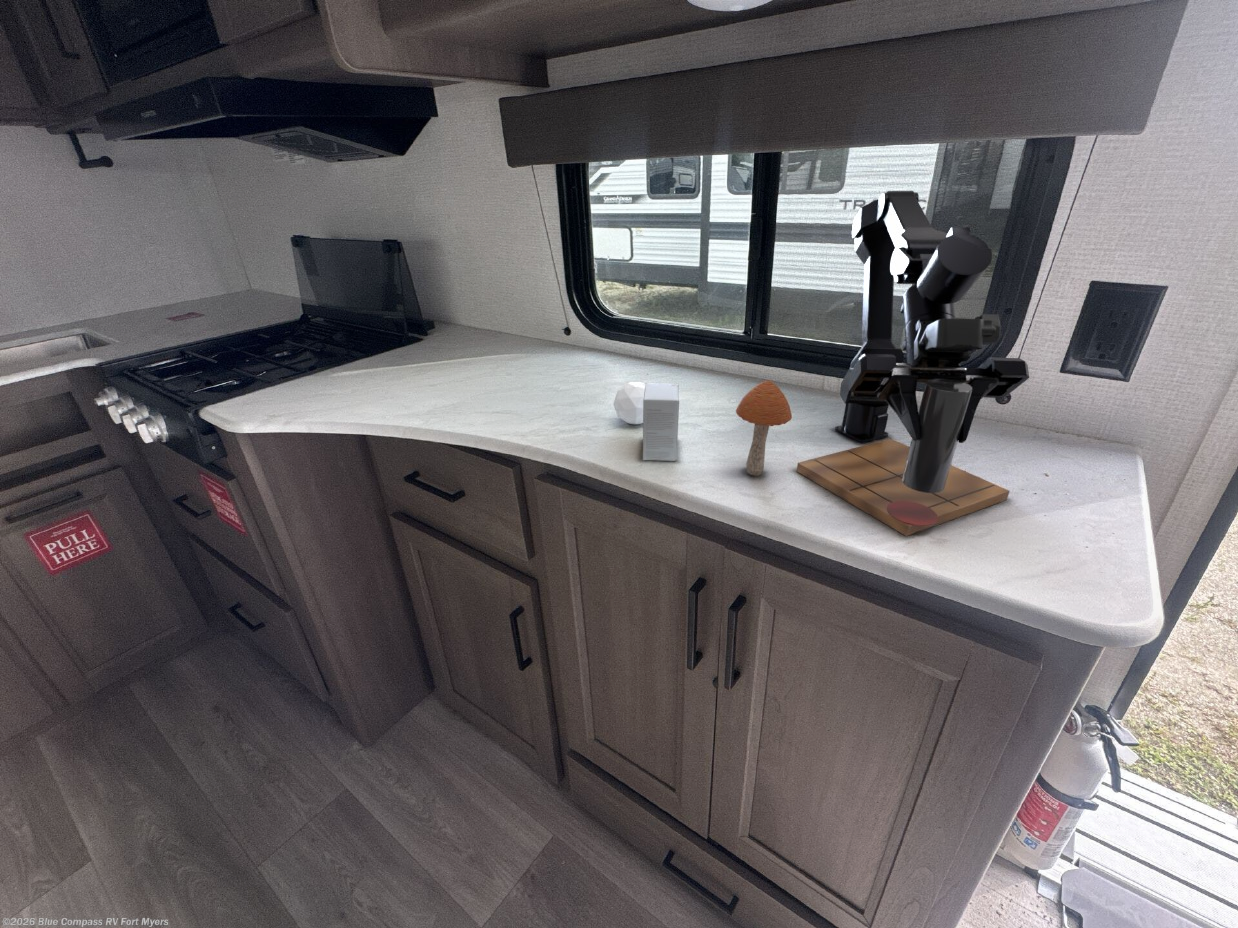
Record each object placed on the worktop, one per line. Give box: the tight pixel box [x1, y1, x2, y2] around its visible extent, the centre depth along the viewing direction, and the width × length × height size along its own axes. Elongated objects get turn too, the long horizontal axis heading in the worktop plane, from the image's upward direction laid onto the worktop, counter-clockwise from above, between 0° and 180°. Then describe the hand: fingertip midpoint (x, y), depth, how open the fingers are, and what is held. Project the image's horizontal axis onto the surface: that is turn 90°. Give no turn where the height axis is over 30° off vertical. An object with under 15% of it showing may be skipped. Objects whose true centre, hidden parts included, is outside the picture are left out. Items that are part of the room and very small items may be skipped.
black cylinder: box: [902, 379, 973, 493], centre depth 68 cm, size 5×5×13 cm
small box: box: [642, 382, 680, 462], centre depth 92 cm, size 8×6×10 cm
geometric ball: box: [613, 382, 646, 425], centre depth 104 cm, size 8×8×8 cm
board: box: [796, 438, 1011, 537], centre depth 82 cm, size 21×20×2 cm
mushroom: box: [735, 379, 793, 477], centre depth 83 cm, size 8×8×15 cm
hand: (939, 440), depth 67 cm, fingers closed on black cylinder, 5 cm apart
